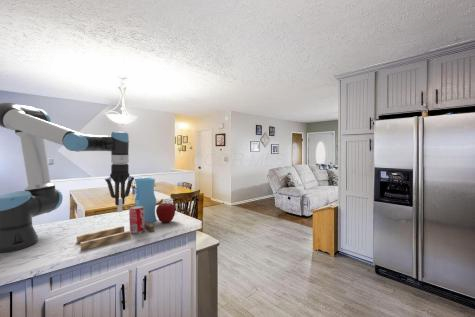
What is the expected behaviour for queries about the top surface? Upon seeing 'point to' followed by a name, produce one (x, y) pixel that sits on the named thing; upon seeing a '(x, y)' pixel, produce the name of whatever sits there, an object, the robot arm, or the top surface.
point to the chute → (102, 237)
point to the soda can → (137, 219)
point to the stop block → (149, 227)
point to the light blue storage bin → (146, 197)
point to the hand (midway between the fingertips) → (119, 211)
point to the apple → (165, 212)
